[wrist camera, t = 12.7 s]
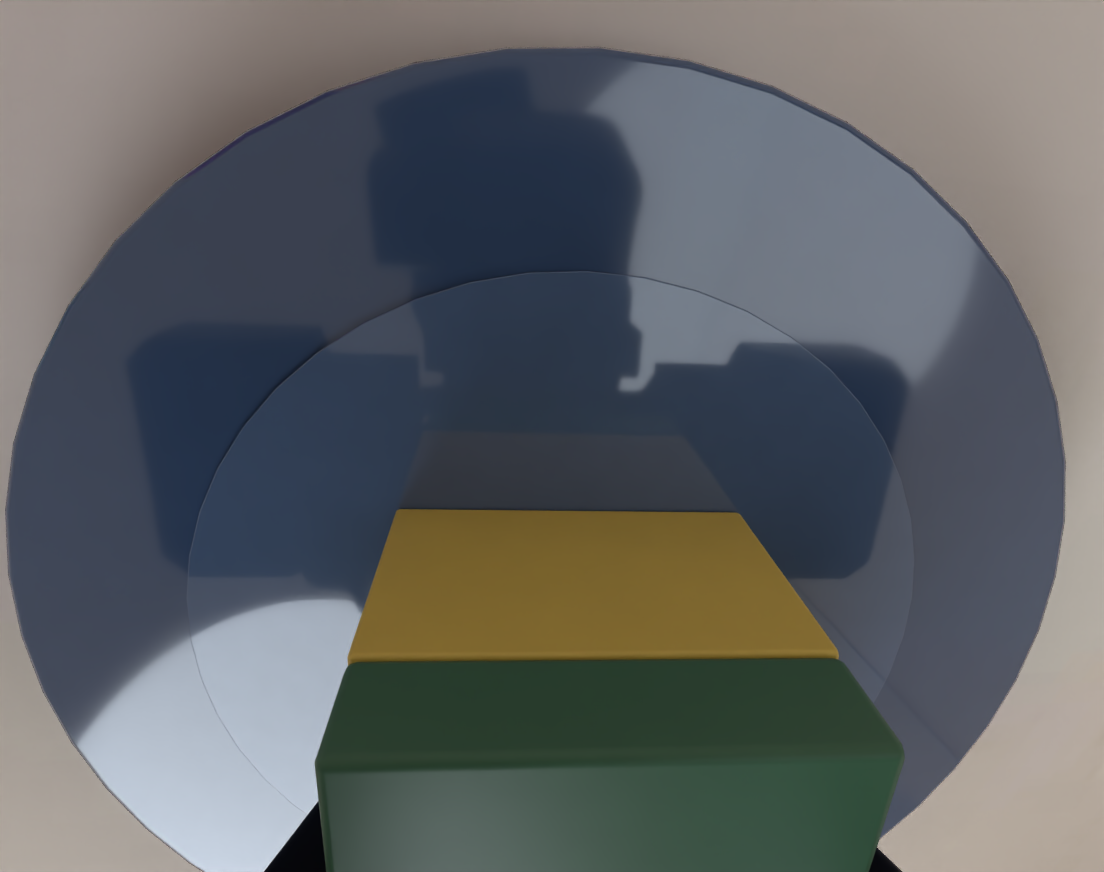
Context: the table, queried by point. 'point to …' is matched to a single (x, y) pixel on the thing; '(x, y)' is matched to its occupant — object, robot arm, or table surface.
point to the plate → (518, 407)
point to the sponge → (596, 705)
